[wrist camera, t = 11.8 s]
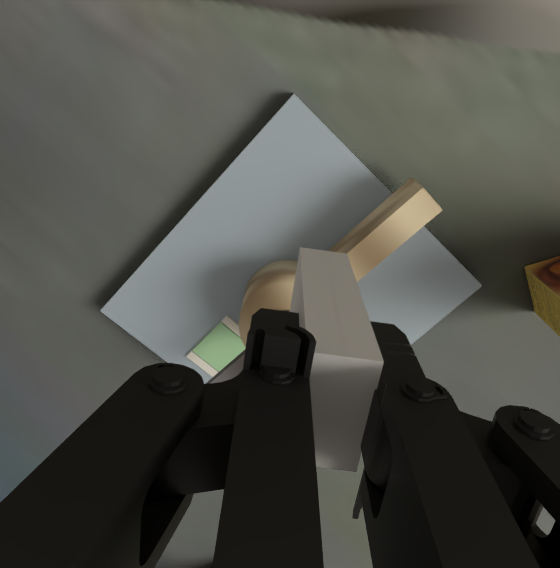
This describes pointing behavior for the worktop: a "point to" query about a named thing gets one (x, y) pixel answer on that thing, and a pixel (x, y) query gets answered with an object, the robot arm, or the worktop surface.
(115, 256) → the worktop surface
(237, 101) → the worktop surface
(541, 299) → the candy box
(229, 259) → the board
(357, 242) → the peg knob
